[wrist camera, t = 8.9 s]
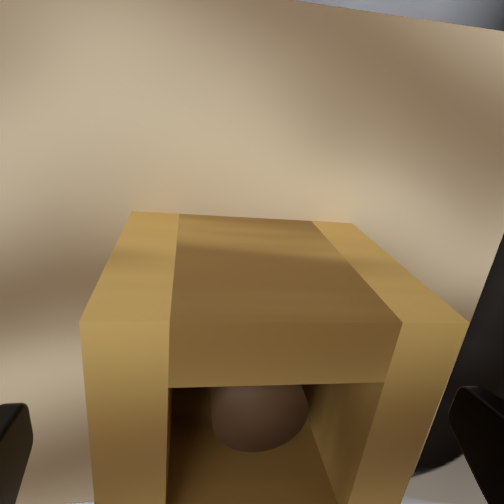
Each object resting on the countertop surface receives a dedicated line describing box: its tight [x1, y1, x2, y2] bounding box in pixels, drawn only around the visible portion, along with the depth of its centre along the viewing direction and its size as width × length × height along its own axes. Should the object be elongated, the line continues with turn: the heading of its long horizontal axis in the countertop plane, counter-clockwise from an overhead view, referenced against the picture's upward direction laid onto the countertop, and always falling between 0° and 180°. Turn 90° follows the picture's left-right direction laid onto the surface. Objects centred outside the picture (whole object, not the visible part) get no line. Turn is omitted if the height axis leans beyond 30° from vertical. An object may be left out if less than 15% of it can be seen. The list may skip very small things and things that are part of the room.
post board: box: [0, 0, 504, 504], centre depth 10 cm, size 16×16×6 cm
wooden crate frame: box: [79, 211, 470, 504], centre depth 9 cm, size 6×6×5 cm
